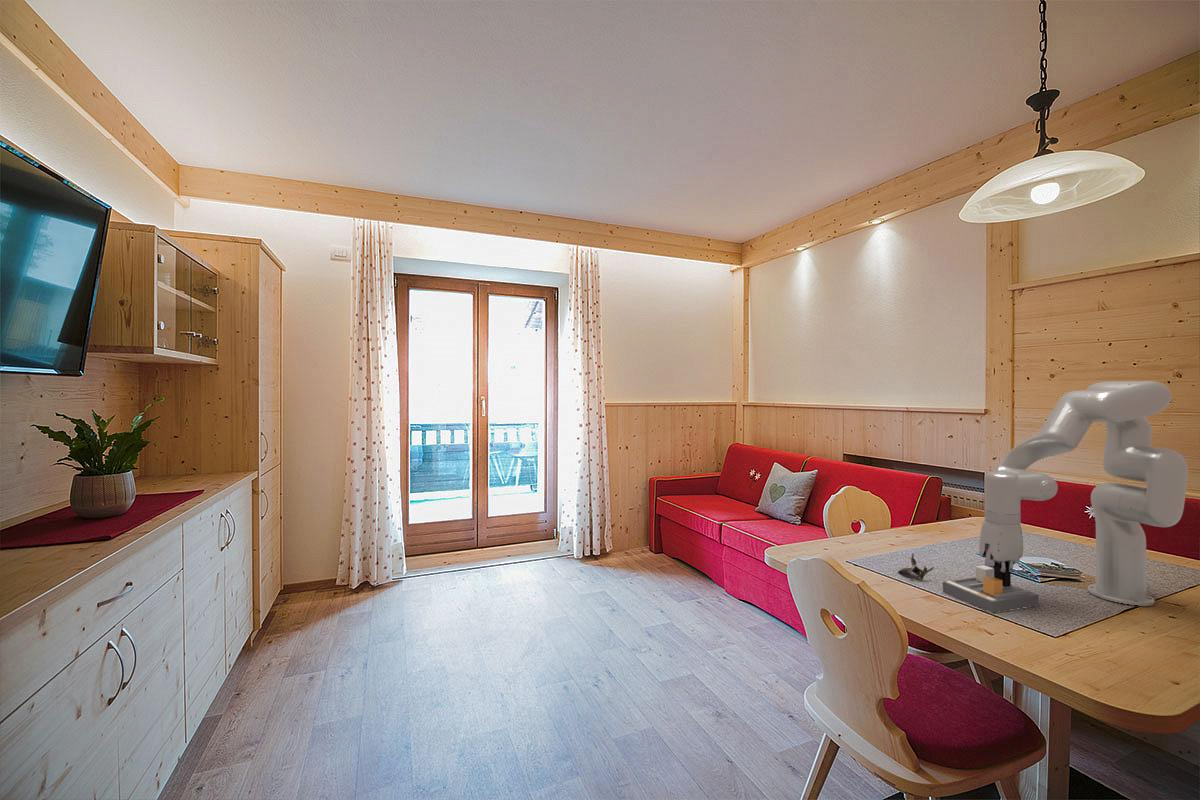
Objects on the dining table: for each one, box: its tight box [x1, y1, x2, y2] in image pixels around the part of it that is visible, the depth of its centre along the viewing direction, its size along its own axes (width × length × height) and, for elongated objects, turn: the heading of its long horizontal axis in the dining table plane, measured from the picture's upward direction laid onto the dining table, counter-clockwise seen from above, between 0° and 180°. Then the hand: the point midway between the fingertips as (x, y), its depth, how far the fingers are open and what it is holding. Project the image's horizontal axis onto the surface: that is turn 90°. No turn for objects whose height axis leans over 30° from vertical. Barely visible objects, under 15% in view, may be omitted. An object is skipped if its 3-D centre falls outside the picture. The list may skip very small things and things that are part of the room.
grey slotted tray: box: [942, 576, 1040, 613], centre depth 136 cm, size 16×14×4 cm
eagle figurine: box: [897, 552, 935, 582], centre depth 152 cm, size 8×7×9 cm
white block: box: [975, 564, 994, 583], centre depth 140 cm, size 3×3×4 cm
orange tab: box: [983, 577, 1003, 596], centre depth 131 cm, size 3×3×4 cm
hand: (1002, 584), depth 132 cm, fingers closed
